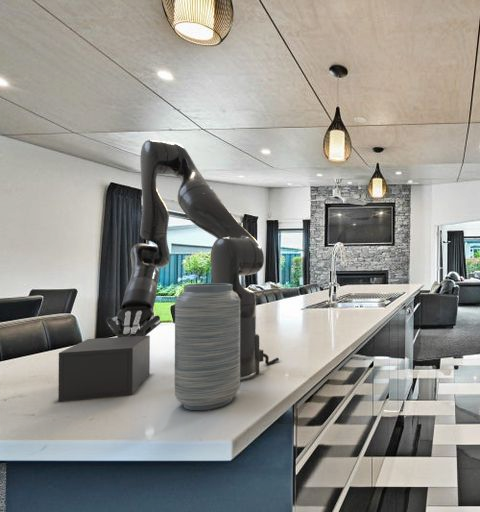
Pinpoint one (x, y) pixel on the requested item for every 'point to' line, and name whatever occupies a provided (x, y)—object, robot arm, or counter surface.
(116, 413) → the counter surface
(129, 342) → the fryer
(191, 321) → the vase
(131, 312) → the robot arm
